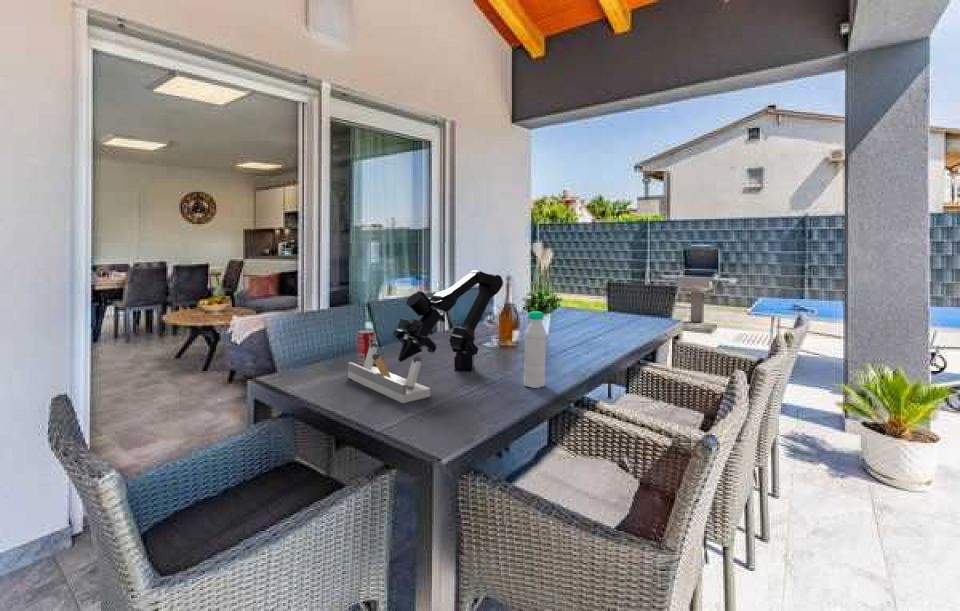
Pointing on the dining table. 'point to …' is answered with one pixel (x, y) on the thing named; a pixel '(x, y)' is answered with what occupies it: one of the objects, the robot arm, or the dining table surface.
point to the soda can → (364, 344)
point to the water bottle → (535, 351)
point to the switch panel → (387, 383)
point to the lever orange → (380, 365)
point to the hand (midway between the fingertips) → (399, 361)
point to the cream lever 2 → (413, 372)
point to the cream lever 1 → (370, 355)
